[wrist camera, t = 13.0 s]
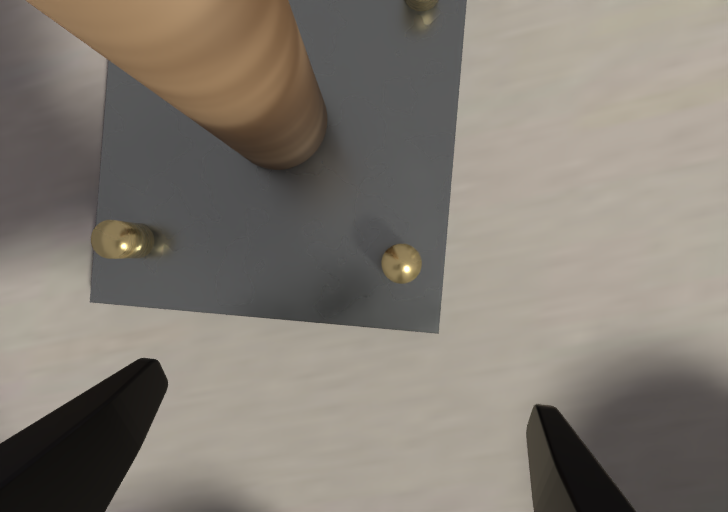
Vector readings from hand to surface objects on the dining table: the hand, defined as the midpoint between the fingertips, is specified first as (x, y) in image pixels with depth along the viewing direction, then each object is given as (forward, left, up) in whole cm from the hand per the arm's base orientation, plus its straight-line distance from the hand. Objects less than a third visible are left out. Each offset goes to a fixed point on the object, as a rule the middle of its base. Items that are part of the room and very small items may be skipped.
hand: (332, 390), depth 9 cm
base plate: (+9, +5, -9) cm, 14 cm away
